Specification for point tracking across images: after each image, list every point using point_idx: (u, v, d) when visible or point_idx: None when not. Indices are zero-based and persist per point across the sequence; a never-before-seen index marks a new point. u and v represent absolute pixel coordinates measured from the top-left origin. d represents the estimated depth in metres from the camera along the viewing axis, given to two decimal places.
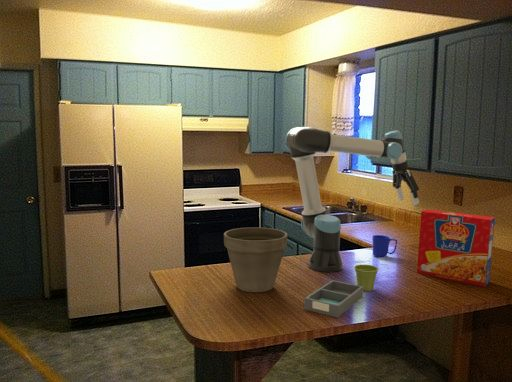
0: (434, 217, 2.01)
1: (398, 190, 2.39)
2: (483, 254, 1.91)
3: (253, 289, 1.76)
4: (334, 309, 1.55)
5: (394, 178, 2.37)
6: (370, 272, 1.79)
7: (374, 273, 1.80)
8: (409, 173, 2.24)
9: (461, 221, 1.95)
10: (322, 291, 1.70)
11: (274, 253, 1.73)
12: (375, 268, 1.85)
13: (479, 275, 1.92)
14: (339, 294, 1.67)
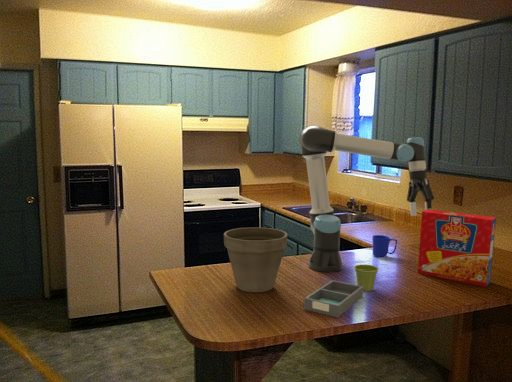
0: (435, 217, 2.00)
1: (412, 204, 2.24)
2: (484, 254, 1.90)
3: (253, 289, 1.76)
4: (334, 309, 1.55)
5: (409, 190, 2.24)
6: (370, 272, 1.79)
7: (374, 273, 1.80)
8: (426, 181, 2.11)
9: (462, 221, 1.94)
10: (322, 291, 1.70)
11: (274, 253, 1.73)
12: (375, 268, 1.85)
13: (481, 275, 1.92)
14: (339, 294, 1.67)
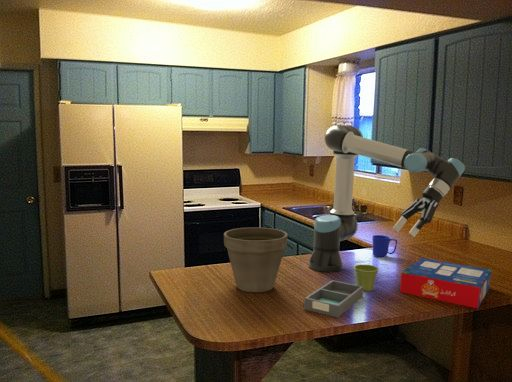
0: None
1: (402, 219, 1.93)
2: None
3: (253, 289, 1.76)
4: (334, 309, 1.55)
5: (411, 206, 1.94)
6: (370, 272, 1.79)
7: (374, 273, 1.80)
8: (436, 203, 1.81)
9: None
10: (322, 291, 1.70)
11: (274, 253, 1.73)
12: (375, 268, 1.85)
13: None
14: (339, 294, 1.67)
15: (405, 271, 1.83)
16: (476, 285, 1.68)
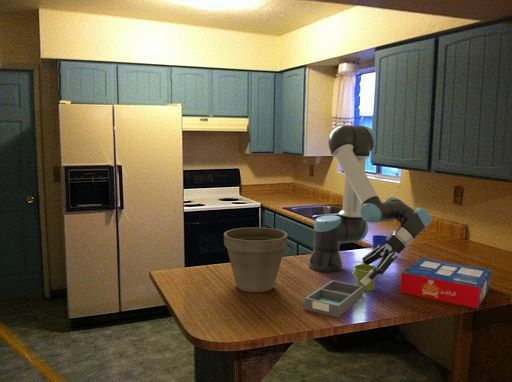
0: None
1: None
2: None
3: (253, 289, 1.76)
4: (334, 309, 1.55)
5: (373, 251, 1.89)
6: None
7: None
8: (394, 255, 1.77)
9: None
10: (322, 291, 1.70)
11: (274, 253, 1.73)
12: None
13: None
14: (339, 294, 1.67)
15: (405, 271, 1.83)
16: (476, 285, 1.68)
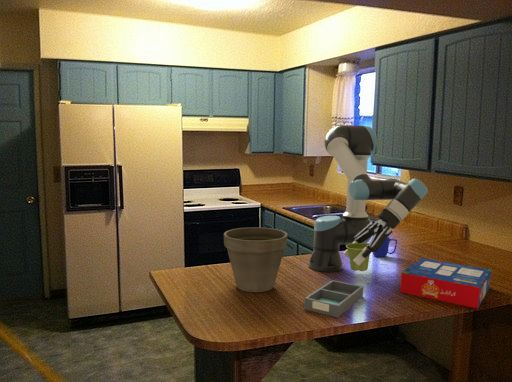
0: None
1: None
2: None
3: (253, 289, 1.76)
4: (334, 309, 1.55)
5: (366, 228, 1.75)
6: None
7: None
8: (389, 231, 1.63)
9: None
10: (322, 291, 1.70)
11: (274, 253, 1.73)
12: None
13: None
14: (339, 294, 1.67)
15: (405, 271, 1.83)
16: (476, 285, 1.68)
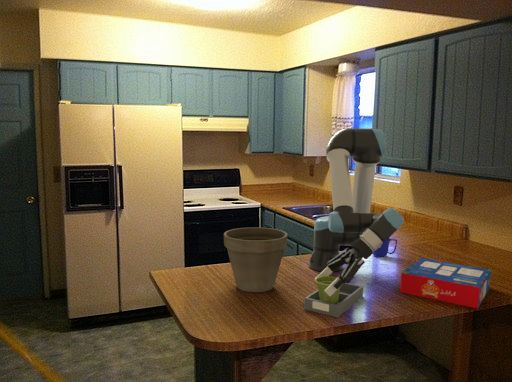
0: None
1: (327, 270, 1.68)
2: None
3: (253, 289, 1.76)
4: (334, 309, 1.55)
5: (339, 255, 1.69)
6: None
7: None
8: (361, 261, 1.56)
9: None
10: None
11: (274, 253, 1.73)
12: None
13: None
14: (339, 294, 1.67)
15: (405, 271, 1.83)
16: (476, 285, 1.68)
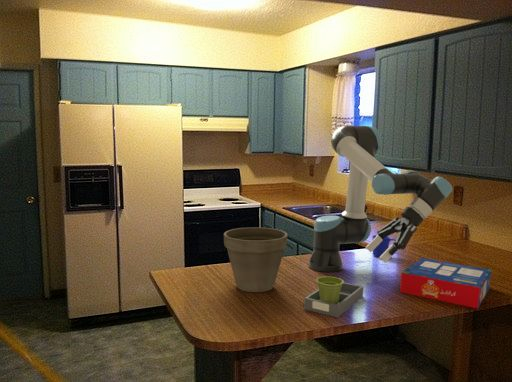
0: None
1: (377, 238, 1.75)
2: None
3: (253, 289, 1.76)
4: (334, 309, 1.55)
5: (389, 224, 1.75)
6: (333, 286, 1.58)
7: (338, 287, 1.59)
8: (414, 227, 1.61)
9: None
10: None
11: (274, 253, 1.73)
12: (340, 281, 1.64)
13: None
14: None
15: (405, 271, 1.83)
16: (476, 285, 1.68)
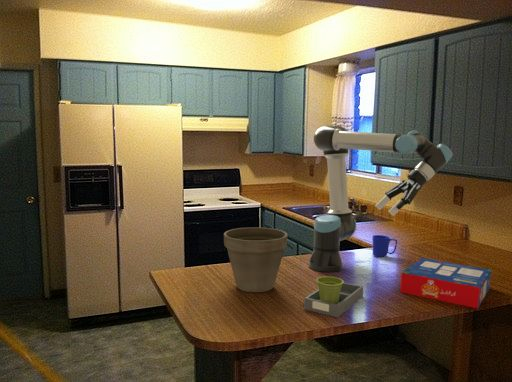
0: None
1: (386, 198, 1.99)
2: None
3: (253, 289, 1.76)
4: (334, 309, 1.55)
5: (396, 186, 1.99)
6: (333, 286, 1.58)
7: (338, 287, 1.59)
8: (419, 186, 1.86)
9: None
10: None
11: (274, 253, 1.73)
12: (340, 281, 1.64)
13: None
14: None
15: (405, 271, 1.83)
16: (476, 285, 1.68)
